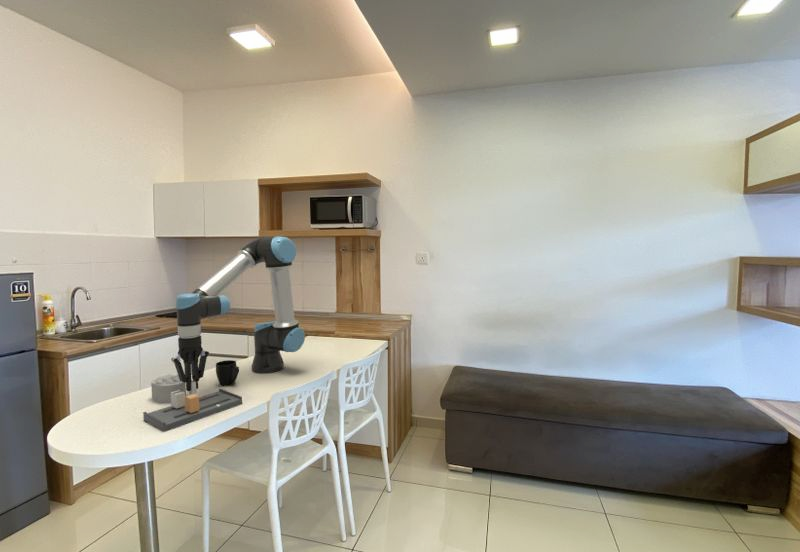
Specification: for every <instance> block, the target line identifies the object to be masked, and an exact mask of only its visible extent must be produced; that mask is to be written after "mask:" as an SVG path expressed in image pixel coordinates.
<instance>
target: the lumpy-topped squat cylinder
mask: <svg viewBox="0 0 800 552" xmlns="http://www.w3.org/2000/svg"><path fill="white" fill-rule="evenodd" d="M150 386H151V400H152V402H154V403H156V404H164V405H165V404H166V405H167V404H171V392H174V391H178V390H180V391H181V390H182V391H183V392H185V396H187V390H186V382H185V383H184V382H181V381H180V379H179V376H178V373H177V374H176V375H173V374H167V375H163V376H159V377H156V378H155V379H154V380H152V381H151V385H150Z"/></svg>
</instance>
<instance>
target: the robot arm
mask: <svg viewBox="0 0 800 552" xmlns="http://www.w3.org/2000/svg"><path fill="white" fill-rule="evenodd" d="M296 255H297V248H296V245H295V243H294V242H293V241H292V239H290V238H288V237H286V236H262V237H261V236H260V237H258V238H257V237H256V239H253V240H251V241H250V242H249V243H247V244H246V245H245V246H243V247H242V248H241V249H240V250H238V251H237V252H236V256H234V257H233V258H232V259H231V260H230V261H229V262H227V263H226V264H225V265H224V266H223V267H222V268H220V269H219V270H217V272H215V273H214V274H213V275H212V276H210V277H209V278H208V279H206V281H204V282H203V283H202V284H200V286H198V287H197V288H196V289H194V290H193V291H192V292H191V293H183V294H182V293H181V294H179V295H177V297H176V305H175V309H176V321H177V336H178V339H177V340H178V341H177V342H178V343H177V344H178V345H177V346H178V352H177V355H176V356H174V357H172V358H171V362H172V363H173V364H174V366H175V369H176V373H177V374H178V376H179V379H180V381H181V382H184V383H185V384H186V392H188V395H191V394H196V395H197V389H199V382H200V380H201V379H202V378H204V373H205V369H206V364H207V359H208V358H207V357H208V356H209V354H210V352H209V351H206V350H204V349H203V347H202V344H203V343H202V335H201V334H202V326H201V325H202V323H201V322H202V321H201V319H203V318H208V317H209V318H210V317H215V316H221V315H225V314H227V313H229V311H230V309H231V301H230V299H229V298H228V297H227V296H226V295H220V294H221V293H222V292H223V291H224V290H226V288H228V287H230V286H231V284H233V282H234V281H236V280H237V279H238V278H239V277H241V276H242V275H243V274H244V273H245V272H247V270H249V269H250V268H251V269H252V268H254V267H255V266H257V265H258V264H262V263H264V264H265V268H266V269H267V270H268V271H269V276H270V283H271V284H270V285H271V293H272V300H273V309H274V318H275V320H273V321H266V322H259V323H257V324H255V325H254V327H253V328H254V329H253V333H254V334H253V338H254V340H253V341H254V342H253V343H254V356H253V359H252V364H251V372H252V373H256V374H270V373H275V372H278V371H281V370H283V369H284V368H285V363H284V358H283V357H282V355H281V351H282V352H285V353H295V352H298V351H299V350H300V349H301V348H302V347H303V345H304V344H305V338H306V334H305V330H303V328H301V327H300V326H299V321H298V320H297V319H296V318H295V309H294V303H293V302H294V301H293V291H292V283H291V276H290V273H291V272H290V268H292V266H293V261H294V260H295V258H296ZM181 360H182V361H183V365H184V368H183V365H182V363H181Z"/></svg>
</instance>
